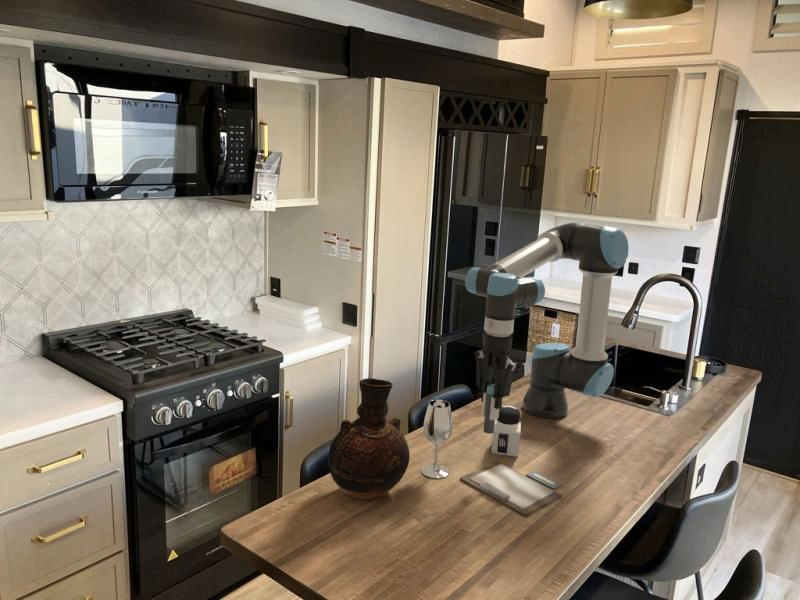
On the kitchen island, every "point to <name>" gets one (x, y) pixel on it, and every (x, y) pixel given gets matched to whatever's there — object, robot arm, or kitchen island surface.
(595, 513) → the kitchen island surface
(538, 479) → the plate
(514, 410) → the container
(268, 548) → the kitchen island surface
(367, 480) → the ceramic vessel
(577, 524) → the kitchen island surface
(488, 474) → the clipboard
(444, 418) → the wineglass
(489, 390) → the marker
